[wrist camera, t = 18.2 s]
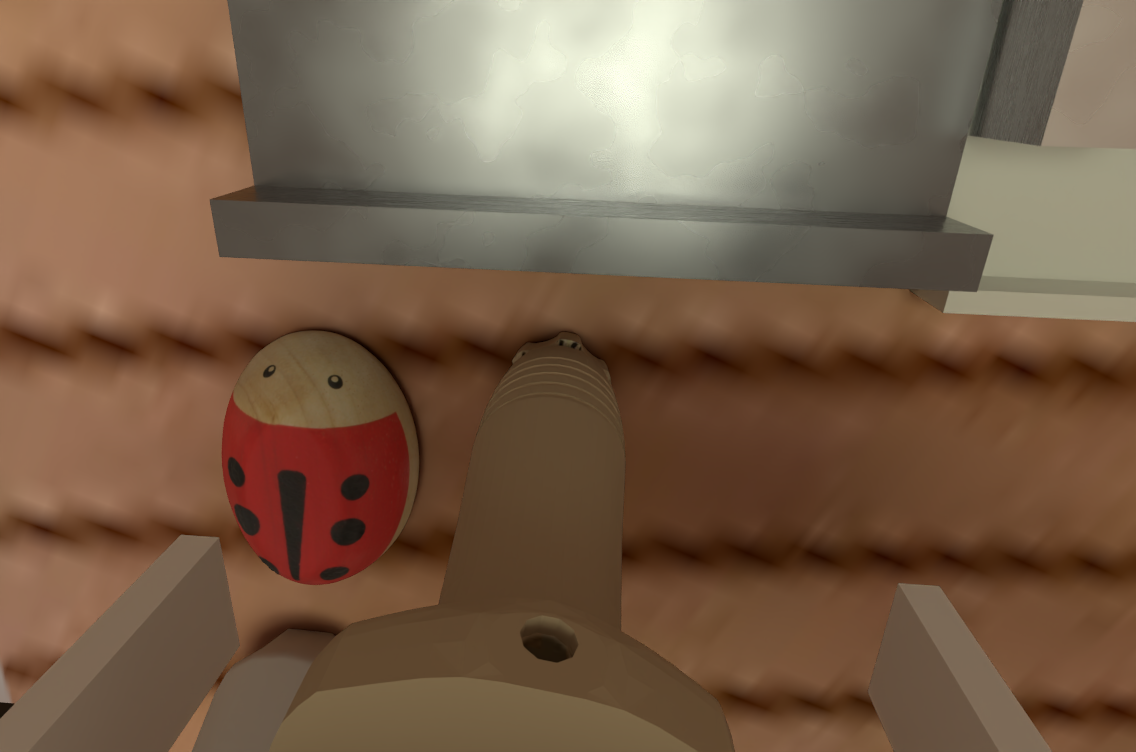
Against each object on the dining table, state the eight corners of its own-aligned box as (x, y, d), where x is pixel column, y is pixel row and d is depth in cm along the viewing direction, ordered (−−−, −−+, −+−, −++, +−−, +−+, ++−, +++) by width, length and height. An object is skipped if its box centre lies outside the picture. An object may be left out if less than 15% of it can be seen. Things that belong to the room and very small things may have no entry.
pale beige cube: (1138, -5, 17) (1262, -25, 14) (1092, 138, 19) (1194, 150, 15) (1000, -9, 17) (1092, -29, 14) (964, 134, 19) (1040, 146, 16)
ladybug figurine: (422, 330, 23) (393, 372, 19) (426, 565, 27) (403, 632, 23) (224, 315, 23) (161, 354, 19) (258, 551, 27) (211, 617, 23)
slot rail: (1030, -187, 16) (1137, -252, 13) (917, 259, 21) (976, 292, 18) (215, -214, 17) (125, -285, 13) (276, 230, 21) (219, 256, 18)
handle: (479, 282, 22) (277, 635, 8) (672, 329, 22) (800, 743, 8) (454, 412, 23) (255, 878, 10) (631, 453, 24) (681, 957, 10)
